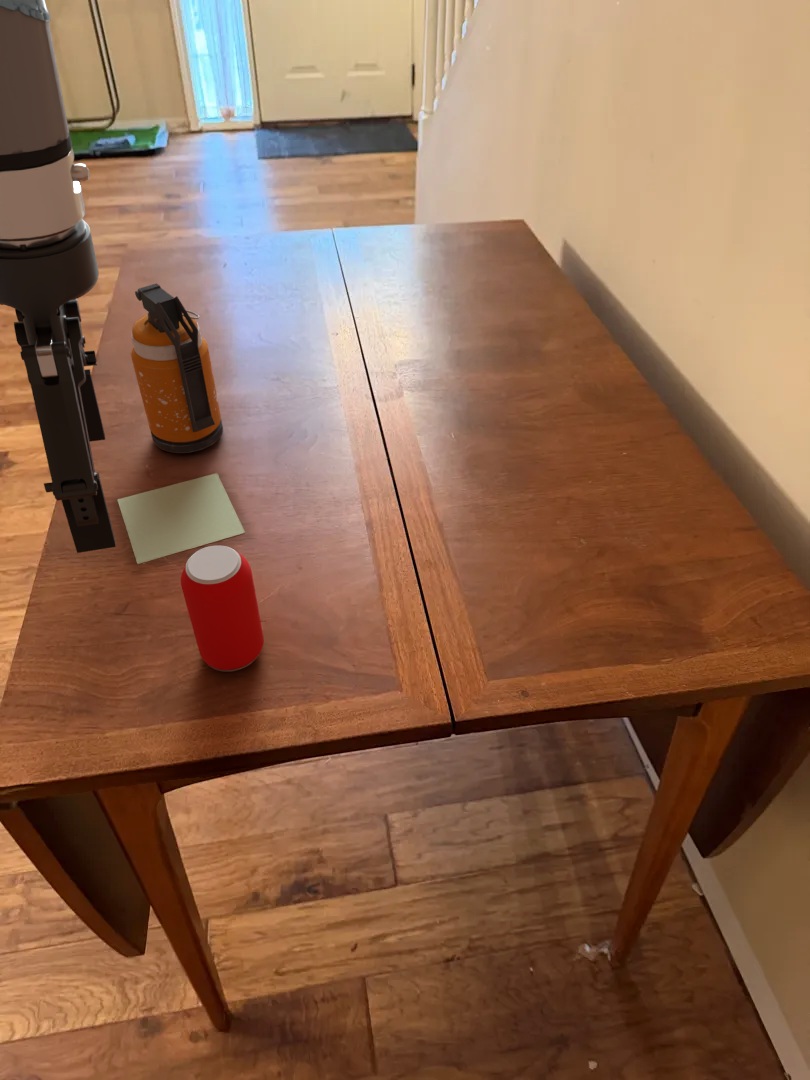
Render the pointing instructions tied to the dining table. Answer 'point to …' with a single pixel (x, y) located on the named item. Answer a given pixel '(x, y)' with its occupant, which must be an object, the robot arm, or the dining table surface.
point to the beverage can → (222, 607)
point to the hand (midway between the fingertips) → (92, 489)
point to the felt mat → (179, 518)
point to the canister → (174, 374)
